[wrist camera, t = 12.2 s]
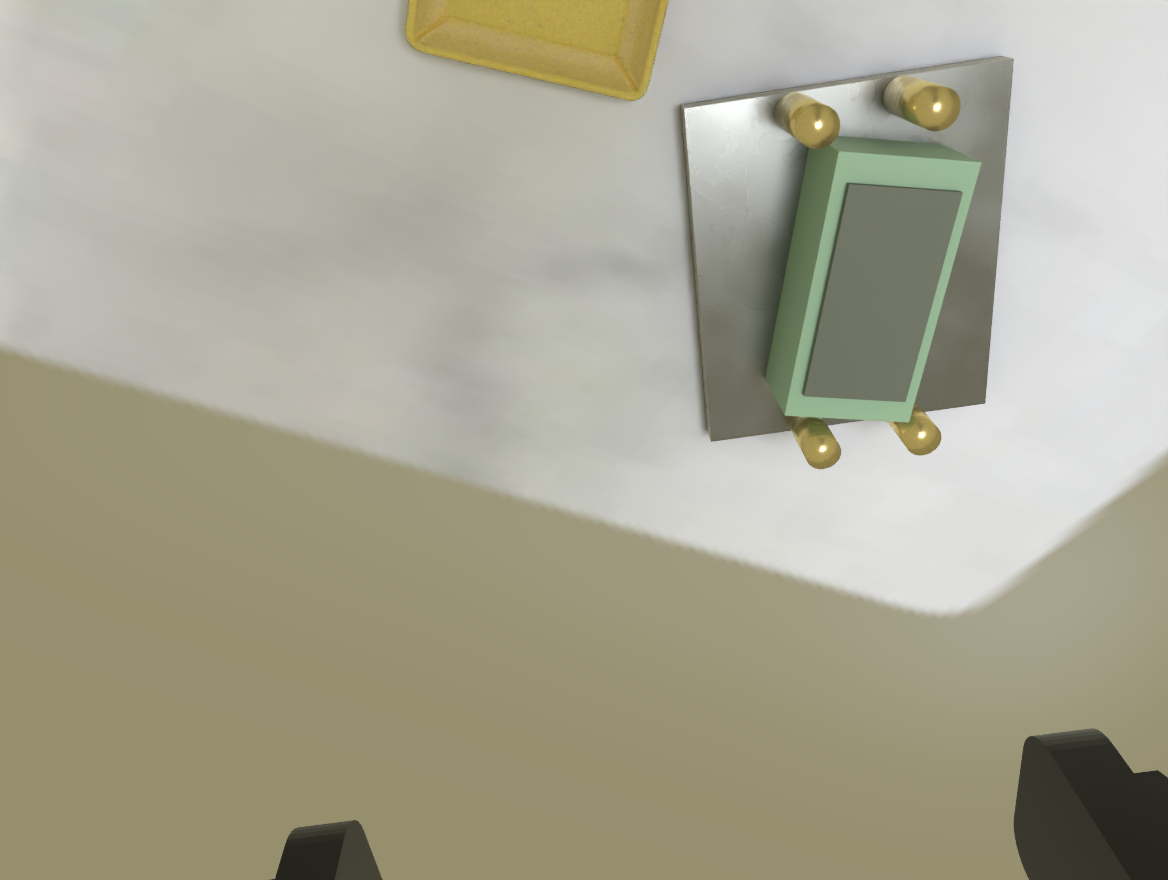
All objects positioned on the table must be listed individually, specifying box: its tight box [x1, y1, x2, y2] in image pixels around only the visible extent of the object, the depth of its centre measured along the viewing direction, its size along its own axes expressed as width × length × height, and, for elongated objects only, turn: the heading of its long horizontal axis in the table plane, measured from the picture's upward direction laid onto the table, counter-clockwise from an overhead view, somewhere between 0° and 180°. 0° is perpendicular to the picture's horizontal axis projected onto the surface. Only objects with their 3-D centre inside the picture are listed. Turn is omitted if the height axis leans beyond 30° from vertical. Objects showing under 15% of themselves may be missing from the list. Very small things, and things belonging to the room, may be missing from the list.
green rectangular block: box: [765, 136, 982, 422], centre depth 34 cm, size 10×5×4 cm, turn 175°
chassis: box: [681, 56, 1014, 469], centre depth 35 cm, size 14×12×4 cm
